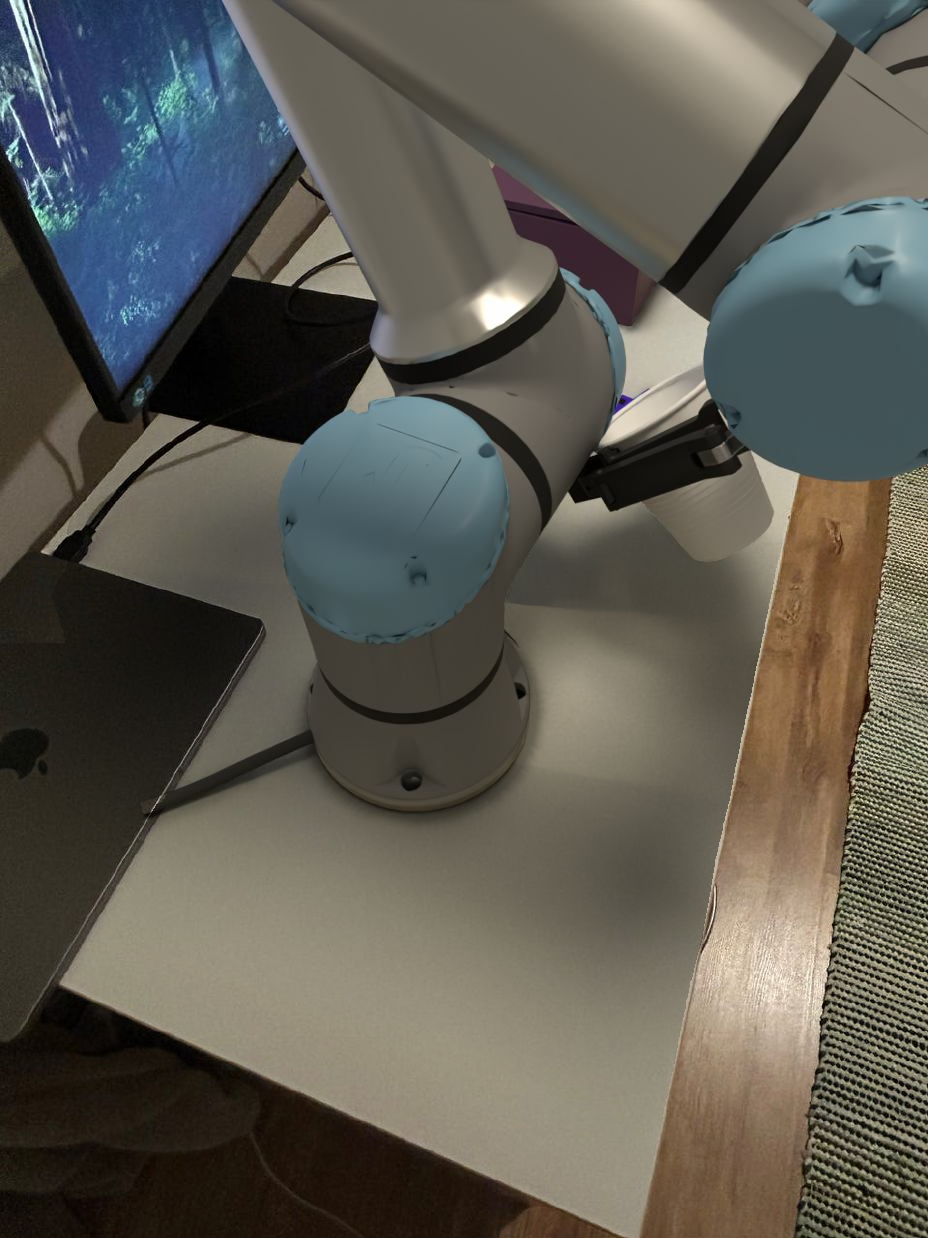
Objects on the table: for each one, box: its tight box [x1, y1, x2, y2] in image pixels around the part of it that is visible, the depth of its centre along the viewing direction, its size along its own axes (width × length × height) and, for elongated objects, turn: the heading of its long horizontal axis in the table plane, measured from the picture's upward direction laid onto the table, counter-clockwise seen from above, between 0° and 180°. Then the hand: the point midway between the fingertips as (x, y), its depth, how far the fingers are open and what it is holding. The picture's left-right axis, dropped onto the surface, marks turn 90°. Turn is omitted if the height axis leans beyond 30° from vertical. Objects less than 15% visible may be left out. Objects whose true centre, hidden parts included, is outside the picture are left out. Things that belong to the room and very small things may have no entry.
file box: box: [507, 208, 657, 327], centre depth 88 cm, size 17×13×9 cm
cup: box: [593, 360, 775, 563], centre depth 60 cm, size 10×10×11 cm
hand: (617, 446), depth 64 cm, fingers closed on cup, 9 cm apart
